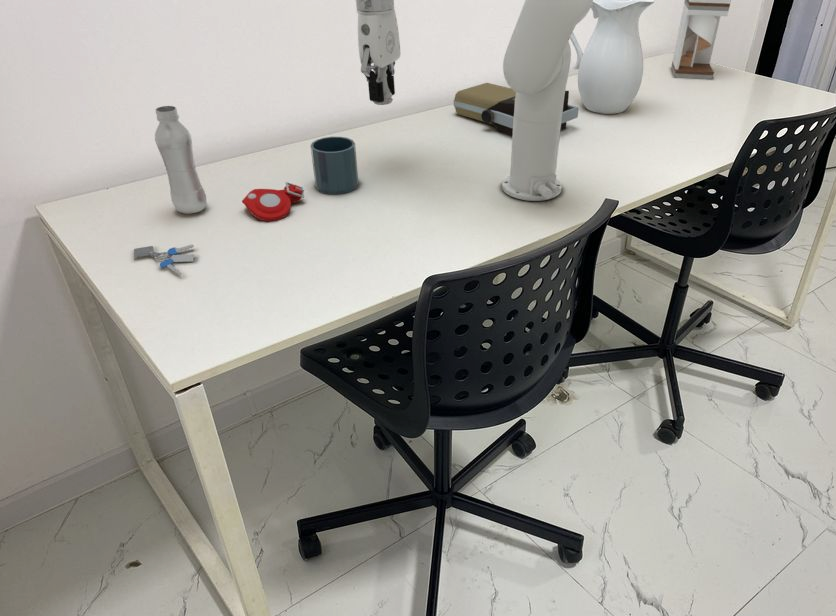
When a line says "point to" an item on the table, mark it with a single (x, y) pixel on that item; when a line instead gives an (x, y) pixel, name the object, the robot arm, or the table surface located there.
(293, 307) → the table surface
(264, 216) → the tracker holder
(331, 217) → the table surface
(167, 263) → the key chain
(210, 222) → the table surface
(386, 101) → the rook chess piece
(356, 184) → the tumbler
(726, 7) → the spiral staircase tower model
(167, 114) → the plastic bottle
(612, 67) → the pitcher
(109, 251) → the table surface
